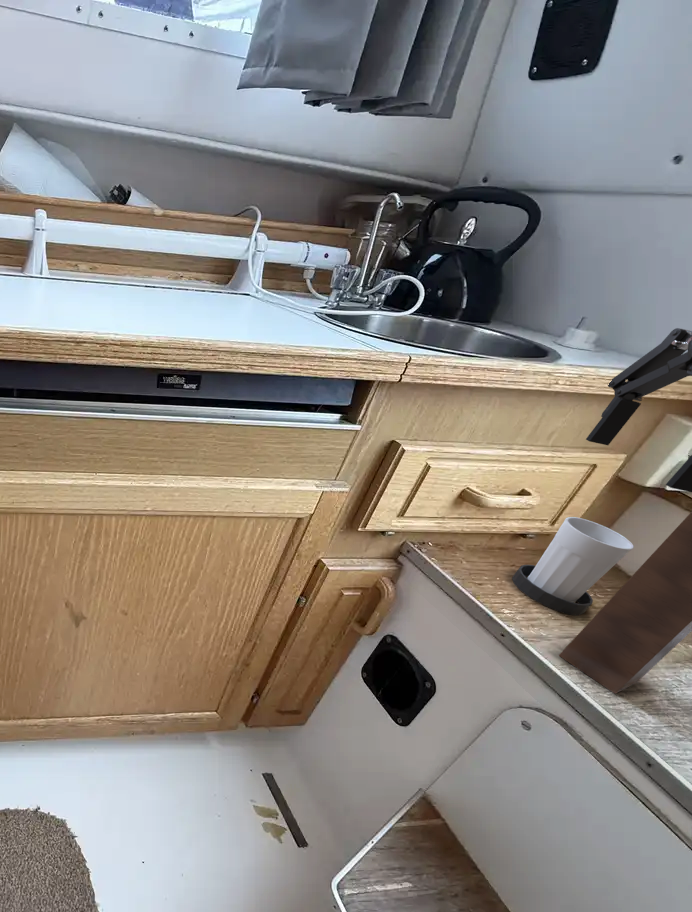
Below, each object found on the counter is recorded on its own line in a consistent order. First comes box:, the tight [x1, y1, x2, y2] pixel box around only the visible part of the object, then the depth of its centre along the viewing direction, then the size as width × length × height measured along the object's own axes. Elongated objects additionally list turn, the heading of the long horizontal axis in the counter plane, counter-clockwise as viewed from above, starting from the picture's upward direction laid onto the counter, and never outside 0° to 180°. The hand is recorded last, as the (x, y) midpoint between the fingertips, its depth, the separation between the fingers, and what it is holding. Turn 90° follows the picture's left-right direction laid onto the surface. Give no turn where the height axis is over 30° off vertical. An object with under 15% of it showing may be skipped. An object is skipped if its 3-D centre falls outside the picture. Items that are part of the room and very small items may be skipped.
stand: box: [558, 511, 692, 695], centre depth 64 cm, size 6×6×32 cm
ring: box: [511, 564, 594, 616], centre depth 86 cm, size 9×9×2 cm
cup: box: [526, 516, 634, 603], centre depth 84 cm, size 8×8×12 cm
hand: (634, 463), depth 73 cm, fingers open, 13 cm apart
